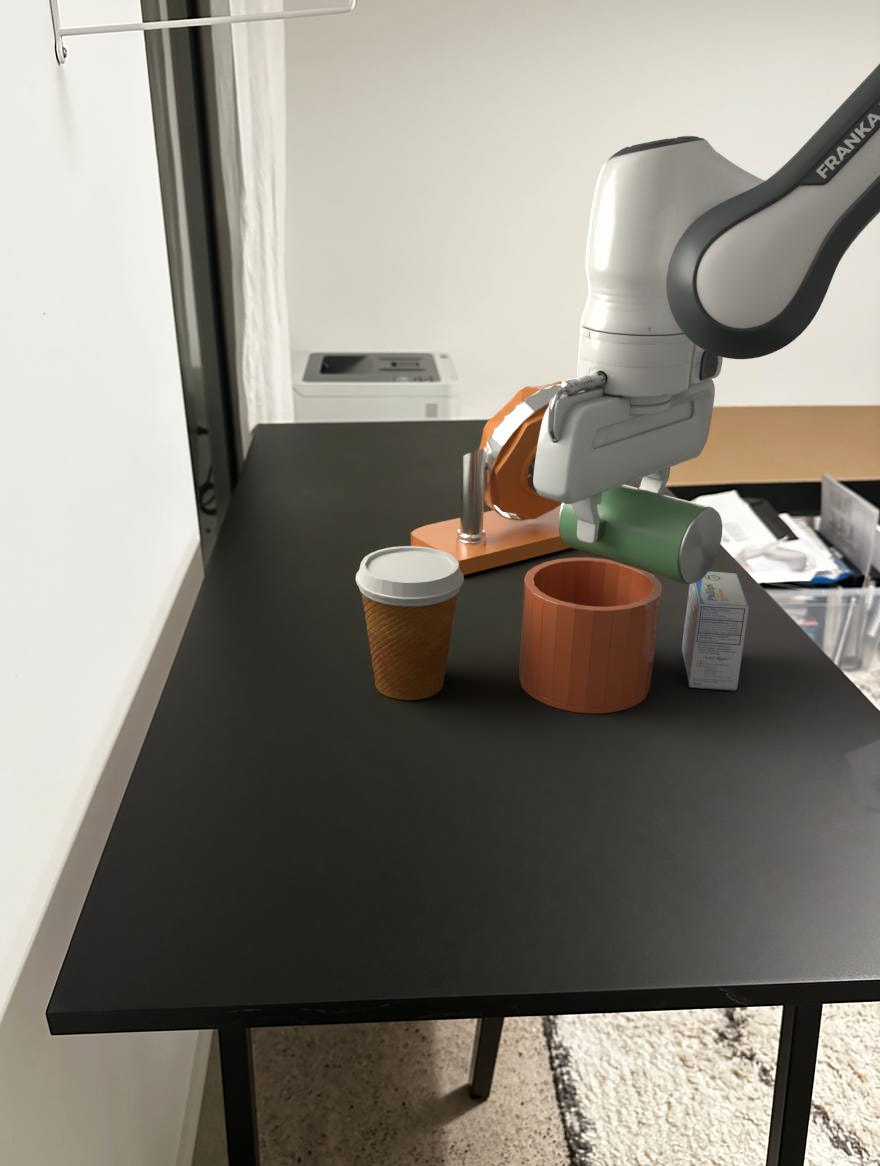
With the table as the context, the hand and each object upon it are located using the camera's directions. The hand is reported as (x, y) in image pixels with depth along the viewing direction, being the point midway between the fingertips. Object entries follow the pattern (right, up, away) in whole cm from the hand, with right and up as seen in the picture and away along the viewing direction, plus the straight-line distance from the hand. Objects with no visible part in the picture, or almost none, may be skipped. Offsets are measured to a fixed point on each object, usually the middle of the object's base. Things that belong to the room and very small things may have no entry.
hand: (617, 528), depth 89 cm
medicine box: (+11, -13, +10) cm, 19 cm away
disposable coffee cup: (-18, -14, +8) cm, 24 cm away
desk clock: (-2, +3, +41) cm, 42 cm away
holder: (-1, -13, +8) cm, 16 cm away
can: (+2, -3, 0) cm, 3 cm away
